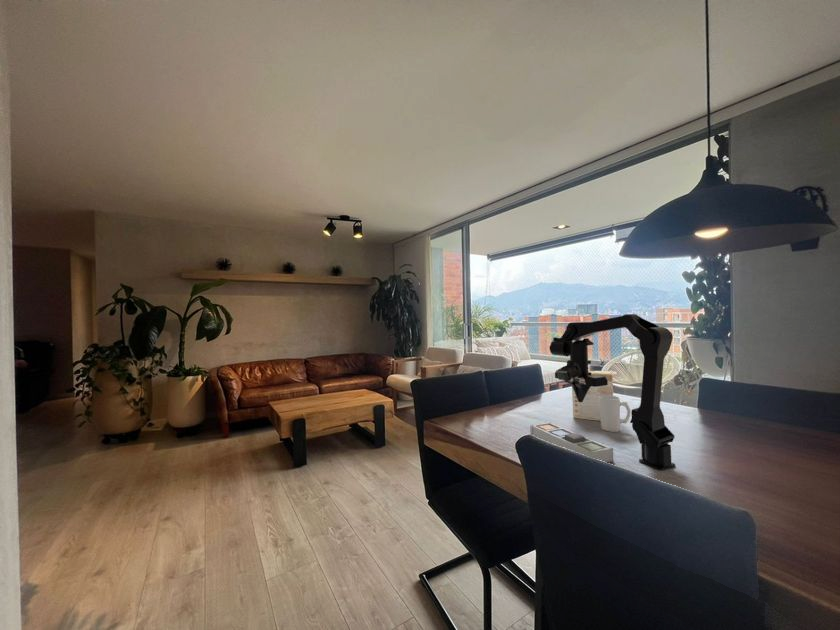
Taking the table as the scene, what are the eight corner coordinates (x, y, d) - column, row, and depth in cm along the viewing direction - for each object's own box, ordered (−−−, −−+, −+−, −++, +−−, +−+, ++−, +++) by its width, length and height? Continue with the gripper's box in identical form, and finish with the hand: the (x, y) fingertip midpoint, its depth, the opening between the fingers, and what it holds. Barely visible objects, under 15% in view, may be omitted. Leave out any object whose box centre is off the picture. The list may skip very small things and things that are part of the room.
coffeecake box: (614, 418, 142) (612, 371, 142) (613, 423, 136) (612, 373, 136) (575, 413, 150) (573, 369, 150) (572, 418, 144) (571, 371, 144)
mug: (599, 430, 128) (598, 398, 128) (600, 425, 134) (599, 394, 134) (631, 434, 123) (630, 401, 123) (630, 428, 129) (629, 397, 129)
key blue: (570, 441, 115) (570, 434, 115) (560, 443, 114) (559, 435, 114) (561, 437, 119) (561, 430, 119) (551, 438, 118) (551, 431, 118)
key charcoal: (585, 444, 109) (585, 436, 109) (574, 446, 108) (574, 438, 108) (575, 440, 113) (575, 432, 113) (565, 442, 112) (564, 434, 112)
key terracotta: (556, 434, 121) (556, 428, 121) (546, 436, 120) (546, 429, 120) (548, 431, 125) (548, 424, 125) (538, 432, 124) (538, 426, 124)
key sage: (602, 455, 103) (602, 447, 103) (591, 458, 101) (591, 450, 101) (591, 450, 107) (591, 443, 107) (580, 452, 105) (580, 445, 105)
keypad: (613, 461, 102) (613, 447, 102) (589, 466, 99) (589, 453, 99) (550, 432, 128) (550, 422, 128) (530, 436, 125) (530, 425, 125)
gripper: (542, 356, 127) (543, 398, 127) (581, 362, 109) (583, 411, 109) (566, 354, 130) (567, 395, 130) (608, 359, 113) (609, 407, 113)
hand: (580, 401), depth 121 cm, fingers closed
